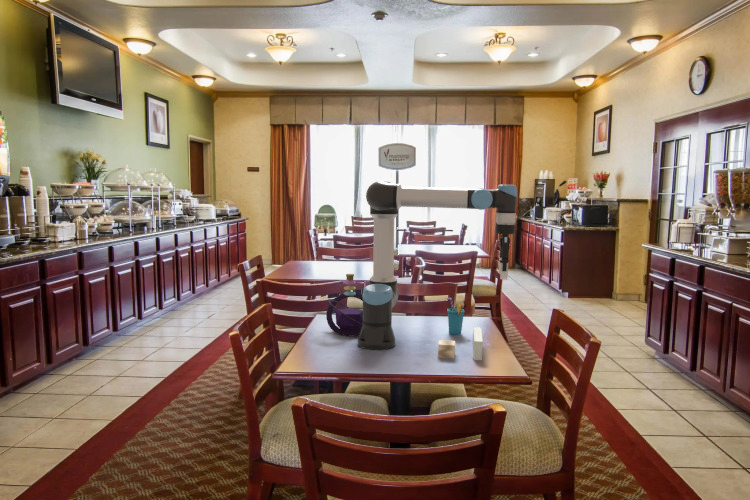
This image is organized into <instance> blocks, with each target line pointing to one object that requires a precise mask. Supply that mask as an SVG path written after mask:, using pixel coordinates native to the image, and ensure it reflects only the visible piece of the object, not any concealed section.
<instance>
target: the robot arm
mask: <svg viewBox="0 0 750 500" xmlns="http://www.w3.org/2000/svg"><path fill="white" fill-rule="evenodd" d="M365 197H366V198H365V199H366V203H367V204H368V206H369V210H370V211H369V215H370V216H371V217H372V218H373V258H372V259H373V260H372V263H373V264H372V265H373V266H372V267H373V268H372V269H373V270H372V271H373V272H372V273H373V274H372V276H371V277H370V278H369V285H366V286H364V288H363V290H362V297H363V301H362V310H363V316H362V327H361V330H360V333H359V334H358V335H357V345H358V346H359V347H360V348H363V349H367V350H377V351H378V350H381V351H382V350H389V349H392V348H394V347H395V346H396V337H395V333H394V330H393V325H392V322H393V321H392V318H393V316H392V315H393V308H394V307H395V306H396V304H397V303H398V300H399V290H398V278H397V277H396V276H395V275H394V271H395V269H394V267H395V265H394V264H395V218H397V216H398V215H399V209H401V208H402V207H403V208H405V207H407V208H409V207H410V208H435V209H436V208H438V209H439V208H440V209H441V208H443V209H444V208H445V209H468V210H470V209H471V210H480V211H482V210H484V211H485V210H486V209H496V212H495V214H496V215H495V223H496V224H495V233H496V234H499V235H500V237H499V253H498V255H499V262H498V274H499V276H500V277H499V279H500V280H504V281H505V280H506V281H507V280H508V276H509V262H510V259H509V258H510V257H509V256H510V255H509V254H510V252H509V251H510V246H511V245H510V244H511V238H510V237H509V235H514V234H515V233H516V225H515V224H516V220H517V219H518V215H517V214H516V213H517V206H518V205H517V202H518V201H517V200H518V187H517V186H516V185H515V184H498V185H497V188H496V189H486V188H459V187H458V188H457V187H424V186H423V187H422V186H421V187H419V186H417V187H416V186H402V185H401V183H392V182H390V181H382V180H379V181H375V182H373V183H371V184H370V185H369V186H368V188H367V190H366V194H365Z"/></svg>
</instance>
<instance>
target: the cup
mask: <svg viewBox="0 0 750 500" xmlns="http://www.w3.org/2000/svg"><path fill="white" fill-rule="evenodd" d="M446 300H450V306H451V307H449V308H447V309H446V310H447V318H448V319H447V320H448V333H449V335H452V336H461V335H462V330H463V323H464V322H463V321H464V314H465V313H466V310H464V308H462V305H461V303H457V306H456V307H454V302H453V298H452V297H446Z"/></svg>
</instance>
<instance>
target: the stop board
mask: <svg viewBox="0 0 750 500" xmlns="http://www.w3.org/2000/svg"><path fill="white" fill-rule="evenodd" d="M482 331H483V330H482V327H477V326H474V327H473V332H472V333H473V334H472V336H473V337H472V352H473V353H472V354H473V360H474V361H482V360H483V347H484V346H483V345H484V344H483V341H484V340H483V333H482Z"/></svg>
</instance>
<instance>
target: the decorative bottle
mask: <svg viewBox="0 0 750 500" xmlns="http://www.w3.org/2000/svg"><path fill="white" fill-rule="evenodd" d="M345 277H346V280H345V281H344V282H343V284H344V285H347V286H344V287H343V289H344V290H345V292H344V293H341V294H339V295H337V296H336V297H335V298H334V299H331V298H330V299H327V302H328V304H329V305H328V307H327V311H326V322H327V324H328V326H329V328H330V330H332V331H333V332H334V333H335V334H338V336H339V335H340V336H343V337H354V336H359V333H360V330H361V327H362V316H363V308H362V309H359V308H360V307H359V308H358V307H357V308H352V307H349V306H347V305H345V304H343V303H342V302H340V301H341V300H343V299H346V298H356V299H358V300H360V301H361V302H363V297H362V294H363V293H362V294H361V293H359V292H355V290H356V286H355V285H356V283H357V282H356V281H355V280H354V277H355V273H346V274H345ZM337 304H338V305H341V306H343V307H344V308H339V309H338V308H337V307H335V306H336V305H337ZM334 309H335V310H334ZM333 310H334V311H335V321H334V319H333Z"/></svg>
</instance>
